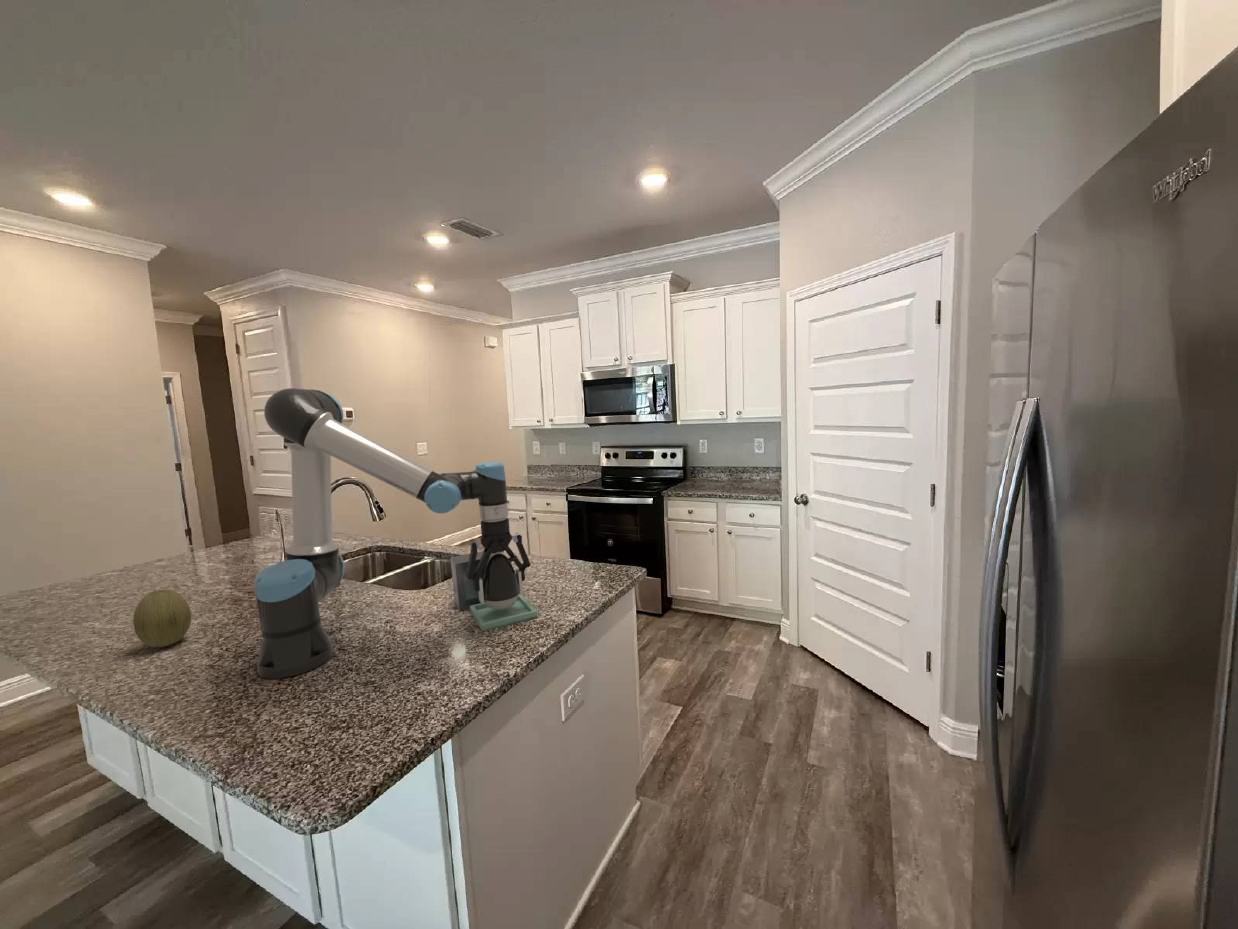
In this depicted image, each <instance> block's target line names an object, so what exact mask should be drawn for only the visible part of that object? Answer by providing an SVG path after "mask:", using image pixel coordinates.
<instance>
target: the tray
mask: <svg viewBox="0 0 1238 929" xmlns="http://www.w3.org/2000/svg"><path fill="white" fill-rule="evenodd" d="M469 612H470V614H471V616H472V617H473V619H474V620H475V623H477V626H478V627H479V630H481V633H483V632H486V631H491V630H494V629H498V628H502V627H505V626H506V627H507V626H509V625H514V624H519V623H522V622H525V621H526V622H527V621H529V620H533V619H537V618H538V610H536V608H534V606H533V605H532V604H531V603H529V601H528V600H527V599H526V598H525V597H524V596H523V594H518V598H517V601H516V602H515V604H514V605H513V606H511V607H510V608H507V609H504V610H494V609H491V608H489V607H488V606H487V605H486V603H480V604H476V605H472V606H470V609H469Z"/></svg>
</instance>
